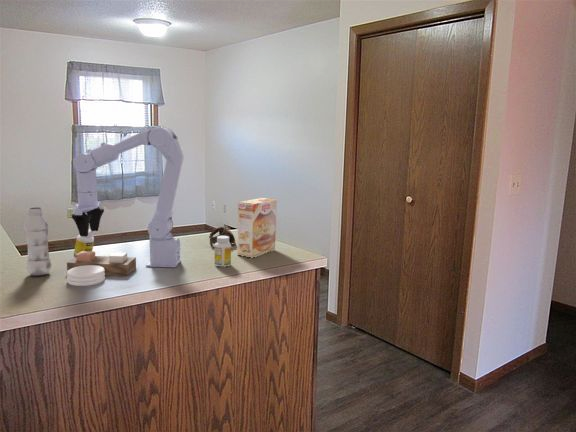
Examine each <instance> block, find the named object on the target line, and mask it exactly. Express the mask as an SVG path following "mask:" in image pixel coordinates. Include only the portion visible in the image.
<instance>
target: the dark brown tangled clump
mask: <svg viewBox="0 0 576 432" xmlns="http://www.w3.org/2000/svg"><path fill="white" fill-rule="evenodd" d="M217 233H218V235H216V234H217ZM215 235H216V236H215ZM218 236H228V237H229V243H230V244H233V246H234V247H236V246H237V244H236V239H235V238H236V237H235V235H234V233H233V232H232V231H231V230H229V229H227V227H225V226H220V227H217V228H215V229H213V231H211V232H210V233H209V236H208V238H209V244H210V246H213V244H214V245H215V244H216V243H217V237H218Z"/></svg>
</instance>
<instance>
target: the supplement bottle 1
mask: <svg viewBox="0 0 576 432" xmlns="http://www.w3.org/2000/svg"><path fill="white" fill-rule="evenodd" d="M94 232H95V231H91V229H90V228H89V231H88V236H80V234H78V235H77V236H76V240H75V244H74V250H73V259H74V258H76V254H78V253H80V252H82V251H90V252H93V251H94V250H93V249H94V243H95V237H94Z"/></svg>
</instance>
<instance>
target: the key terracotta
mask: <svg viewBox="0 0 576 432" xmlns="http://www.w3.org/2000/svg"><path fill="white" fill-rule="evenodd" d="M95 256H96V251H92V252H90V251H82V252H80V253H78V254H76V260H77V261H78V262H91V261H93V260H94V259H95Z"/></svg>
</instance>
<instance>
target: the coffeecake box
mask: <svg viewBox="0 0 576 432" xmlns="http://www.w3.org/2000/svg"><path fill="white" fill-rule="evenodd" d="M277 201H278V199H275V198H269V197H268V198H267V197H259V198H258V197H257V198H253V199H248V200H243V201H238V202H237V203H238V209H237V210H238V211H237V215H238V217H237V220H238V221H237V256H238V255H241V256H240V257H243V256H246V257H245V258H247V257H252V258H253V257H255V258H257V257H256V256H258V257H260V256H259V255H261V254H263V255H265V254H264V253H266V254H268V253H267V252H269V253H271V252H273V251H272V250H274V251H275V250H276V235H277V234H276V230H277V229H276V228H277V203H278V202H277ZM270 251H271V252H270ZM261 256H262V255H261ZM252 258H251V259H252ZM253 259H254V258H253Z"/></svg>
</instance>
